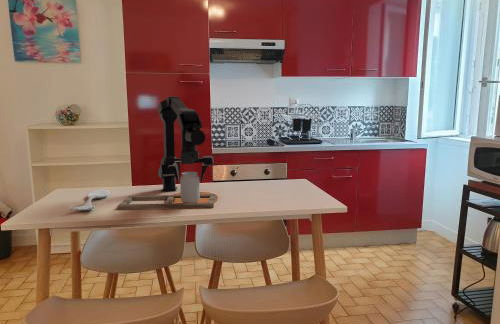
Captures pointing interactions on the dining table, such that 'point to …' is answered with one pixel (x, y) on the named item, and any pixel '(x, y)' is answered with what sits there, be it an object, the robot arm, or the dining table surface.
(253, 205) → the dining table surface
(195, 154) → the robot arm
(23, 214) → the dining table surface
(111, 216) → the dining table surface
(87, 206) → the spoon
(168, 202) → the ladder rack
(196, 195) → the can
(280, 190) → the dining table surface
